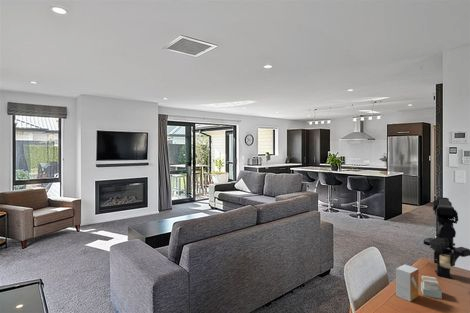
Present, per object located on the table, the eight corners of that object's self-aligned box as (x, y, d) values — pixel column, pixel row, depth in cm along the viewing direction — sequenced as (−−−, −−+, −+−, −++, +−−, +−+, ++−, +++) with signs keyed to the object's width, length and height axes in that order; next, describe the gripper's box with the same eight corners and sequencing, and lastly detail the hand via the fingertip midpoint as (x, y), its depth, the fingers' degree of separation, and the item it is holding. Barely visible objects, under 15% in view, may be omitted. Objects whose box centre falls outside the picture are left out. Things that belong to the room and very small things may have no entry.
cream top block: (421, 282, 132) (421, 275, 132) (435, 284, 130) (435, 277, 129) (424, 287, 127) (424, 280, 127) (438, 290, 125) (438, 282, 124)
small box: (410, 302, 121) (410, 273, 121) (395, 295, 127) (395, 268, 126) (419, 296, 126) (418, 268, 125) (404, 290, 131) (404, 263, 131)
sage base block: (420, 289, 133) (420, 281, 133) (438, 292, 130) (438, 284, 129) (423, 296, 126) (423, 288, 126) (441, 299, 123) (441, 291, 123)
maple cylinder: (438, 263, 136) (438, 253, 136) (450, 265, 134) (450, 255, 134) (440, 267, 132) (440, 257, 132) (453, 269, 130) (453, 258, 130)
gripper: (415, 229, 139) (415, 259, 139) (455, 240, 121) (455, 275, 122) (431, 226, 142) (431, 256, 143) (472, 237, 125) (472, 270, 125)
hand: (445, 264), depth 133 cm, fingers closed on maple cylinder, 5 cm apart
